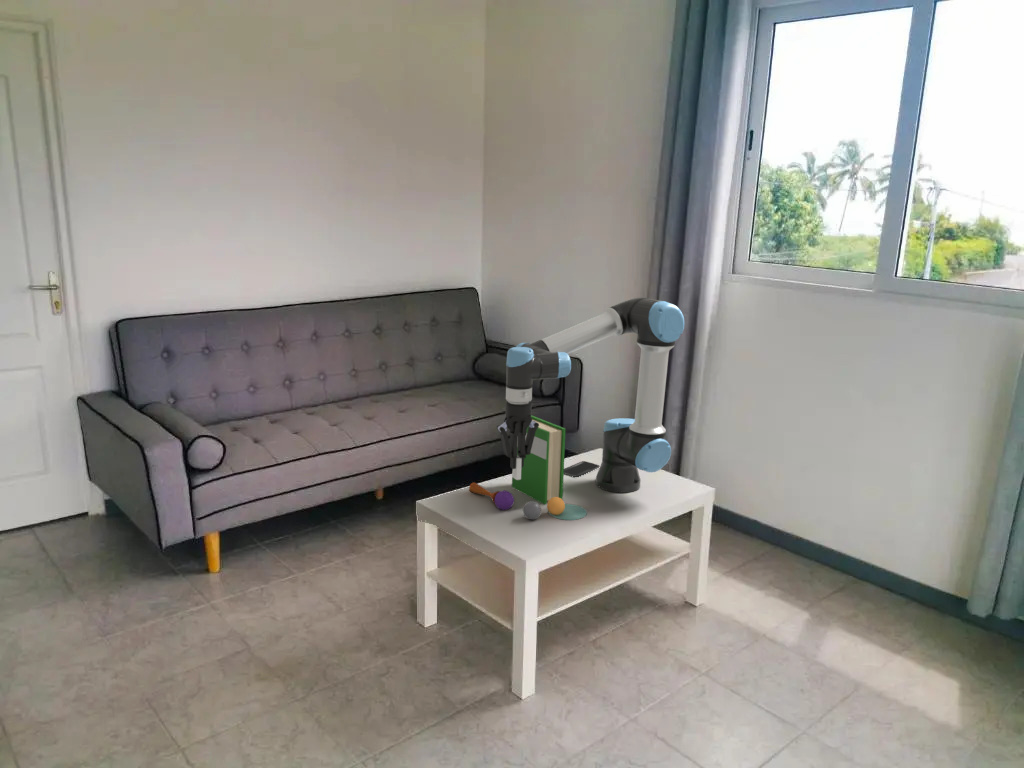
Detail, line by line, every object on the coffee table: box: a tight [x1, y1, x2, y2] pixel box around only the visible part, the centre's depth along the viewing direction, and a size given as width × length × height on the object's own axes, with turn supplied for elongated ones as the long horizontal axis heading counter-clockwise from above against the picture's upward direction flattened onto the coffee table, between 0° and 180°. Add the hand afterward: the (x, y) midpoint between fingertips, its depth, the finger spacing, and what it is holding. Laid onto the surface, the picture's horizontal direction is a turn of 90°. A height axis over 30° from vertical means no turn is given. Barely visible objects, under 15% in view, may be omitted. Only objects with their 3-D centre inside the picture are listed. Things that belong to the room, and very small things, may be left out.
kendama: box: [468, 482, 515, 511], centre depth 240 cm, size 6×6×20 cm
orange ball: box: [546, 497, 566, 515], centre depth 231 cm, size 6×6×6 cm
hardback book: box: [511, 414, 567, 505], centre depth 245 cm, size 18×7×24 cm, turn 36°
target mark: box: [547, 503, 588, 521], centre depth 233 cm, size 12×12×1 cm
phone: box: [564, 460, 601, 478], centre depth 270 cm, size 8×1×15 cm
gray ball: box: [522, 500, 542, 520], centre depth 227 cm, size 6×6×6 cm
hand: (516, 478), depth 222 cm, fingers closed
